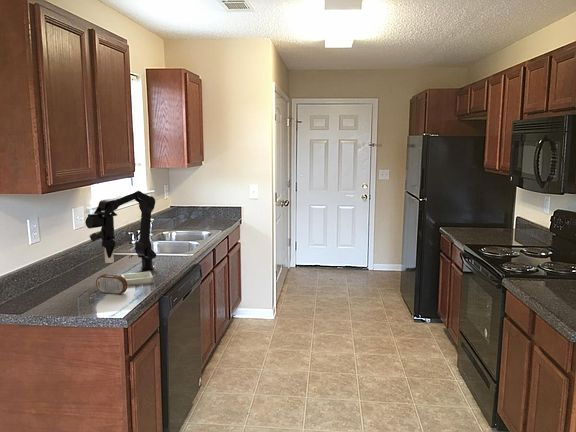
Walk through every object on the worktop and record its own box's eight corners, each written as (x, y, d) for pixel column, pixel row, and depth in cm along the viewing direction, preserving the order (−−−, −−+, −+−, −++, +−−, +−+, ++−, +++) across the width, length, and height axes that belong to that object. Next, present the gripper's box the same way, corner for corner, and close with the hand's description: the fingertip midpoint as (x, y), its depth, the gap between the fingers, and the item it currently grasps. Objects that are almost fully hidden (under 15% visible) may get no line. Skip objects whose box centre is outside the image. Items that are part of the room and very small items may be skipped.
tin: (128, 293, 212) (127, 275, 211) (124, 295, 209) (123, 277, 208) (99, 291, 216) (98, 273, 215) (95, 293, 213) (94, 274, 212)
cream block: (105, 261, 236) (104, 243, 234) (113, 260, 237) (112, 243, 236) (105, 263, 232) (104, 245, 231) (113, 262, 233) (113, 244, 232)
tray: (121, 280, 234) (121, 274, 234) (150, 277, 239) (150, 271, 239) (122, 286, 223) (122, 280, 223) (153, 283, 228) (153, 277, 228)
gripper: (90, 223, 238) (92, 254, 240) (89, 229, 221) (91, 262, 223) (113, 222, 242) (115, 252, 244) (114, 228, 225) (116, 260, 227)
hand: (109, 256), depth 234 cm, fingers closed on cream block, 4 cm apart
